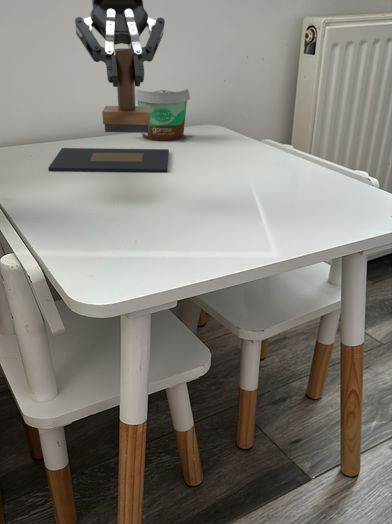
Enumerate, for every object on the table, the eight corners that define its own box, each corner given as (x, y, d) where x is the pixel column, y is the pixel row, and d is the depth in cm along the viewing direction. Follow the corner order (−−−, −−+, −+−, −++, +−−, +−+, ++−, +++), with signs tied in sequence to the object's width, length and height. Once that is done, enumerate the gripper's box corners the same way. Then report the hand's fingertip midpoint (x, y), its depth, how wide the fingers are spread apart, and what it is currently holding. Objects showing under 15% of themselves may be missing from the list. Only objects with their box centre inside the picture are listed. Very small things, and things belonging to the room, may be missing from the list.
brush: (103, 132, 84) (97, 50, 78) (106, 125, 88) (101, 47, 82) (149, 133, 85) (147, 51, 78) (151, 126, 88) (149, 48, 82)
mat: (48, 171, 103) (48, 167, 103) (62, 150, 115) (61, 147, 115) (167, 172, 104) (167, 168, 104) (168, 152, 116) (168, 149, 115)
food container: (140, 143, 121) (138, 93, 115) (135, 136, 126) (133, 88, 120) (195, 141, 123) (196, 92, 118) (189, 134, 128) (189, 87, 123)
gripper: (159, 1, 89) (171, 98, 86) (69, 0, 86) (79, 100, 83) (163, -40, 81) (177, 65, 78) (65, -43, 79) (76, 65, 76)
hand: (126, 82), depth 81 cm, fingers closed on brush, 2 cm apart
